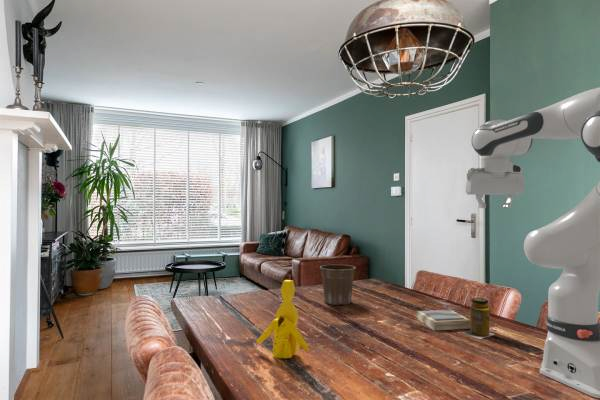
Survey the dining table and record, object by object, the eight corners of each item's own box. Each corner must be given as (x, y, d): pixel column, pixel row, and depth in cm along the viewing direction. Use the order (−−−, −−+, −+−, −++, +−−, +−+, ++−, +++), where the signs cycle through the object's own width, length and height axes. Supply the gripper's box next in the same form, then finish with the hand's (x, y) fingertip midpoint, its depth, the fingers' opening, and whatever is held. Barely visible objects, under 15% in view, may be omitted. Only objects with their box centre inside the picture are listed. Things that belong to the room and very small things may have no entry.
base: (470, 328, 144) (470, 318, 144) (434, 330, 142) (434, 320, 142) (450, 317, 158) (450, 308, 158) (416, 318, 156) (416, 310, 156)
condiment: (494, 334, 137) (494, 300, 137) (480, 339, 133) (480, 303, 133) (475, 329, 143) (475, 295, 143) (461, 333, 139) (460, 299, 139)
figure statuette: (252, 354, 120) (252, 281, 120) (266, 346, 127) (266, 276, 127) (306, 365, 112) (306, 286, 112) (317, 355, 119) (317, 281, 119)
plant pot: (328, 296, 193) (327, 263, 193) (360, 300, 186) (360, 265, 186) (314, 304, 178) (314, 268, 178) (348, 308, 171) (348, 270, 171)
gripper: (472, 166, 133) (472, 208, 133) (527, 167, 136) (527, 208, 136) (461, 168, 140) (462, 208, 140) (515, 169, 143) (515, 207, 143)
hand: (494, 208), depth 138 cm, fingers open, 8 cm apart
